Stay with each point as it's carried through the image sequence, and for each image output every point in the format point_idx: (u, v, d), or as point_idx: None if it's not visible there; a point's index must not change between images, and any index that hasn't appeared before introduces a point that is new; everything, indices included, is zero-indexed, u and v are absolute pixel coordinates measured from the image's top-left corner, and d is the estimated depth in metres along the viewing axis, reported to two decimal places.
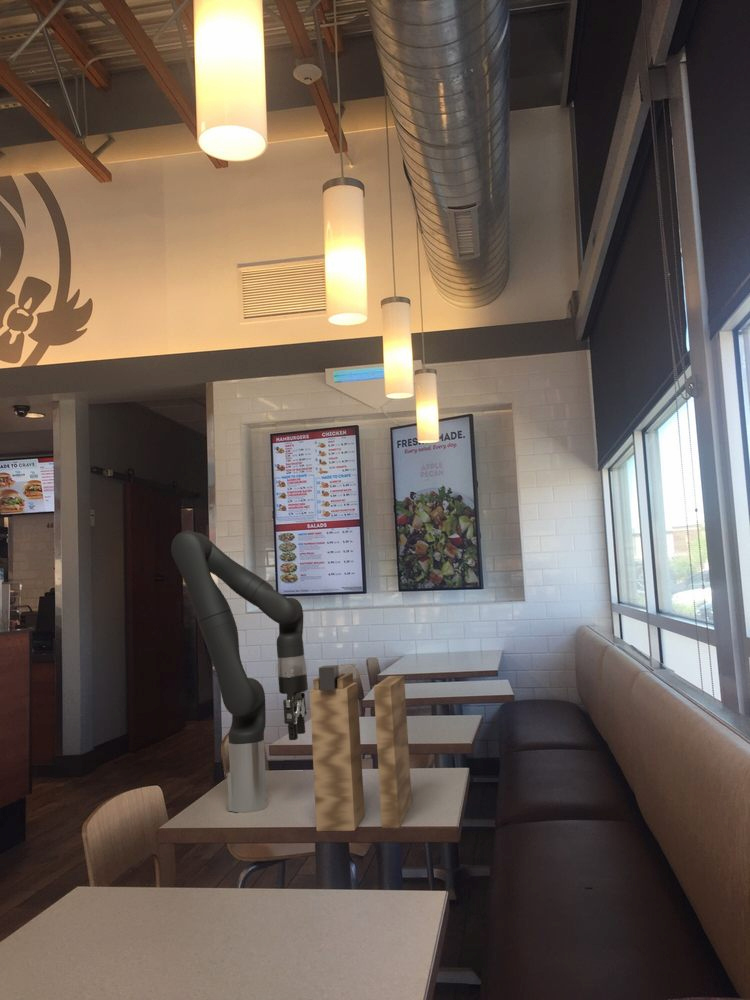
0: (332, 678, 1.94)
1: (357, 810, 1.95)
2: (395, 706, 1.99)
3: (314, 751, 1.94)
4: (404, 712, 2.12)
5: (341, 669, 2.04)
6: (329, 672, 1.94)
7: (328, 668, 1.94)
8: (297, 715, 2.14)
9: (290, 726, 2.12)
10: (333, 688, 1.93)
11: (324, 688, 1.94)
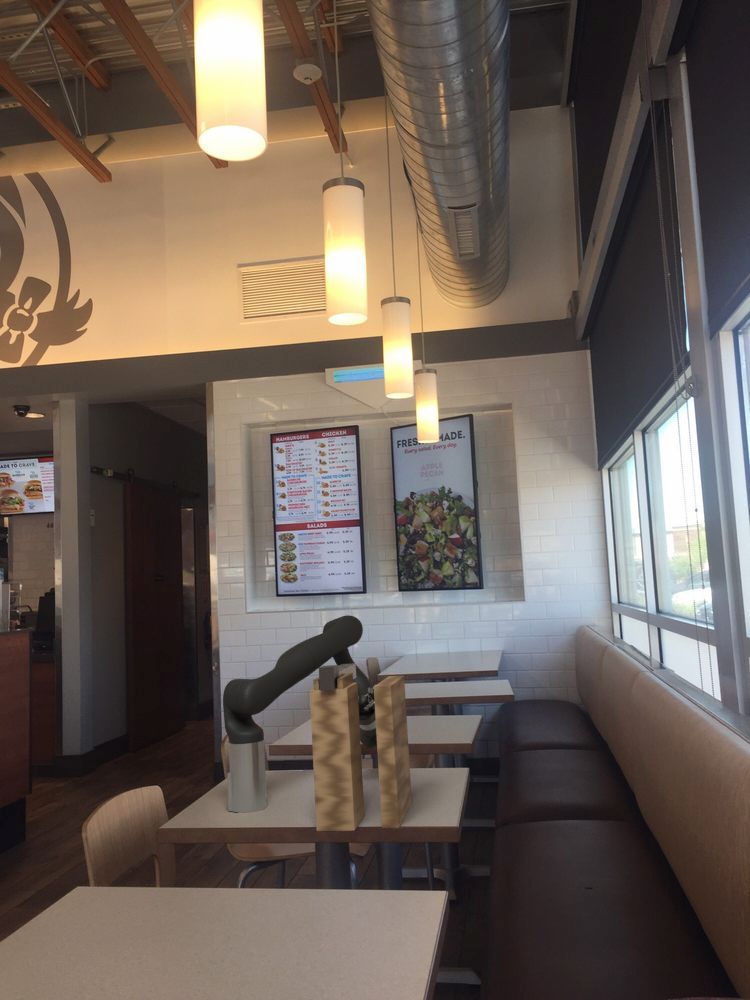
0: (332, 678, 1.94)
1: (357, 810, 1.95)
2: (395, 706, 1.99)
3: (314, 751, 1.94)
4: (404, 712, 2.12)
5: (341, 669, 2.04)
6: (329, 672, 1.94)
7: (328, 668, 1.94)
8: (371, 703, 2.25)
9: None
10: (333, 688, 1.93)
11: (324, 688, 1.94)
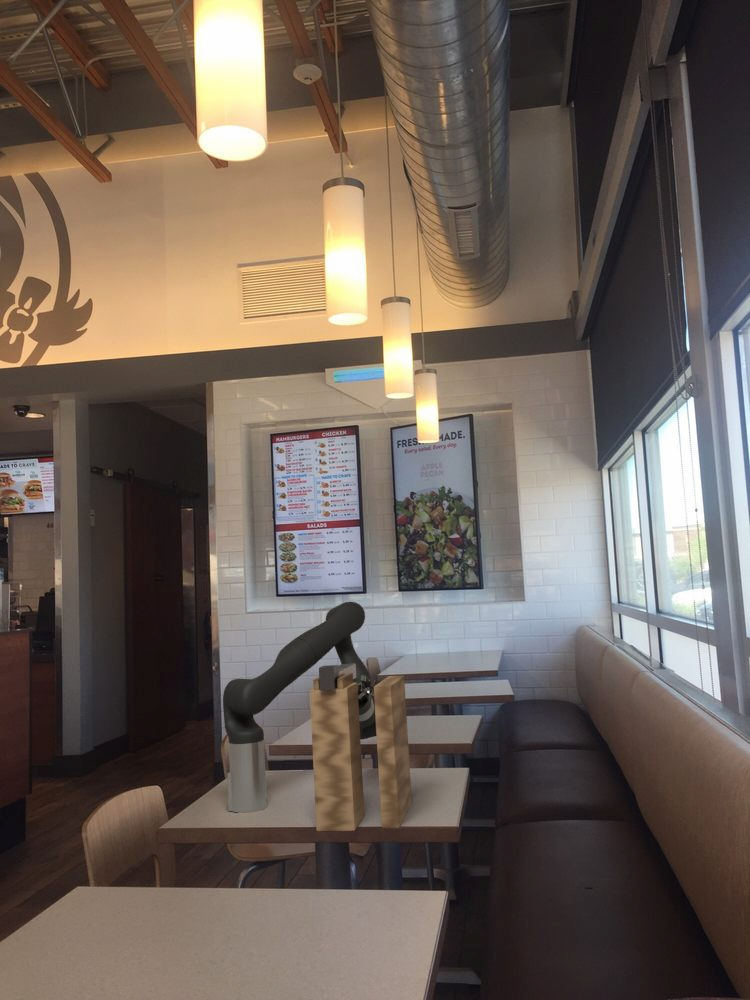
0: (332, 678, 1.94)
1: (357, 810, 1.95)
2: (395, 706, 1.99)
3: (314, 751, 1.94)
4: (404, 712, 2.12)
5: (341, 669, 2.04)
6: (329, 672, 1.94)
7: (328, 668, 1.94)
8: (364, 692, 2.18)
9: (369, 682, 2.16)
10: (333, 688, 1.93)
11: (324, 688, 1.94)
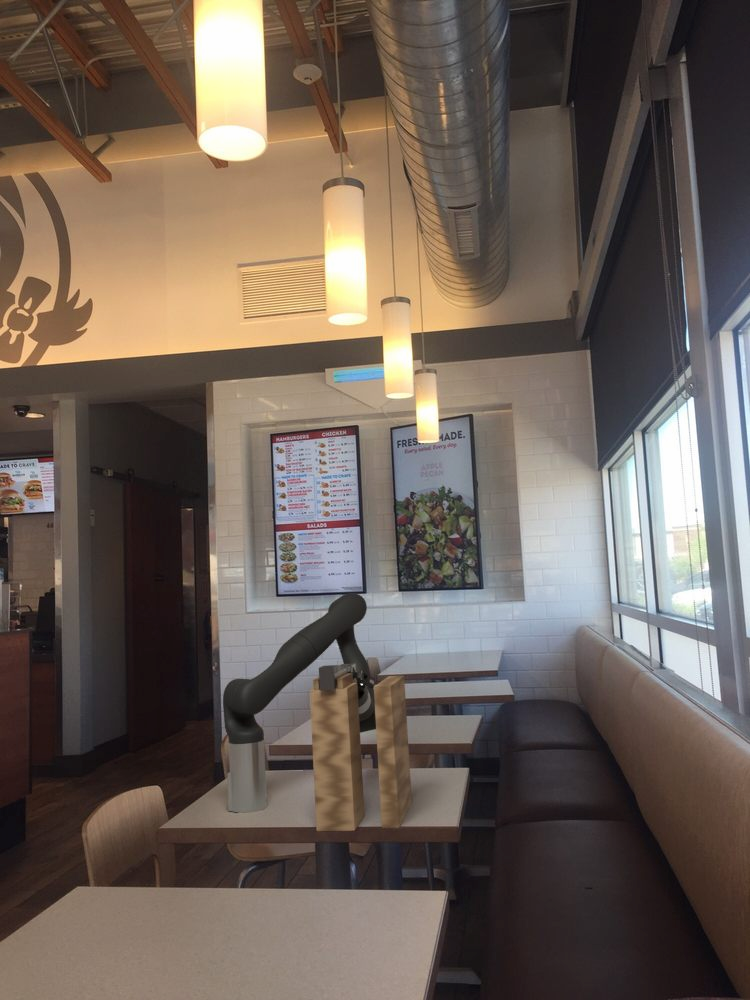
0: (332, 678, 1.94)
1: (357, 810, 1.95)
2: (395, 706, 1.99)
3: (314, 751, 1.94)
4: (404, 712, 2.12)
5: (341, 669, 2.04)
6: (329, 672, 1.94)
7: (328, 668, 1.94)
8: None
9: (355, 673, 2.12)
10: (333, 688, 1.93)
11: (324, 688, 1.94)
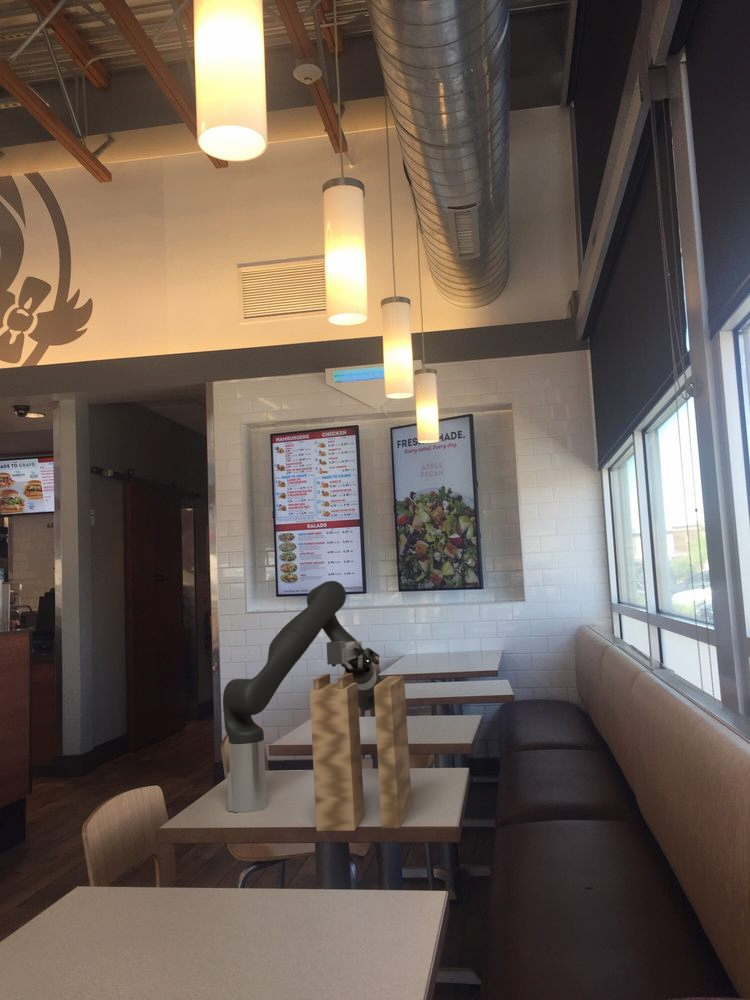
0: (339, 653, 2.03)
1: (357, 810, 1.95)
2: (395, 706, 1.99)
3: (314, 751, 1.94)
4: (404, 712, 2.12)
5: (348, 645, 2.14)
6: (336, 647, 2.04)
7: (335, 643, 2.04)
8: (360, 660, 2.23)
9: (362, 649, 2.21)
10: (340, 662, 2.03)
11: (332, 662, 2.04)
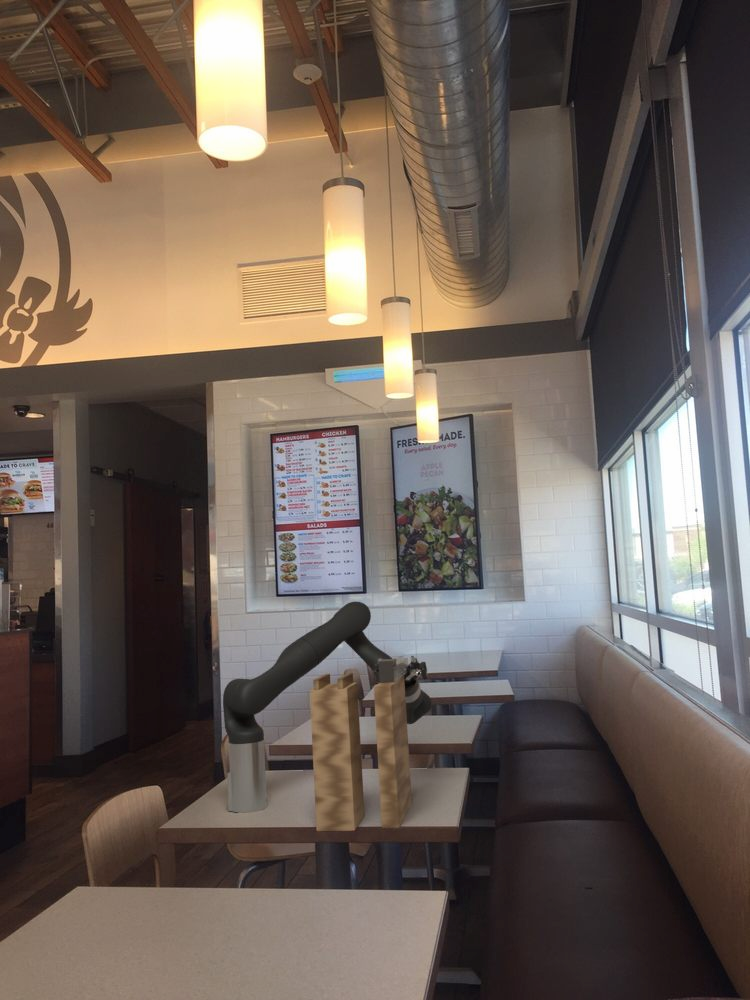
0: (391, 671, 2.01)
1: (357, 810, 1.95)
2: (395, 706, 1.99)
3: (314, 751, 1.94)
4: (404, 712, 2.12)
5: (397, 663, 2.12)
6: (388, 665, 2.02)
7: (387, 662, 2.02)
8: (413, 673, 2.21)
9: (417, 663, 2.20)
10: (392, 681, 2.01)
11: (384, 681, 2.02)
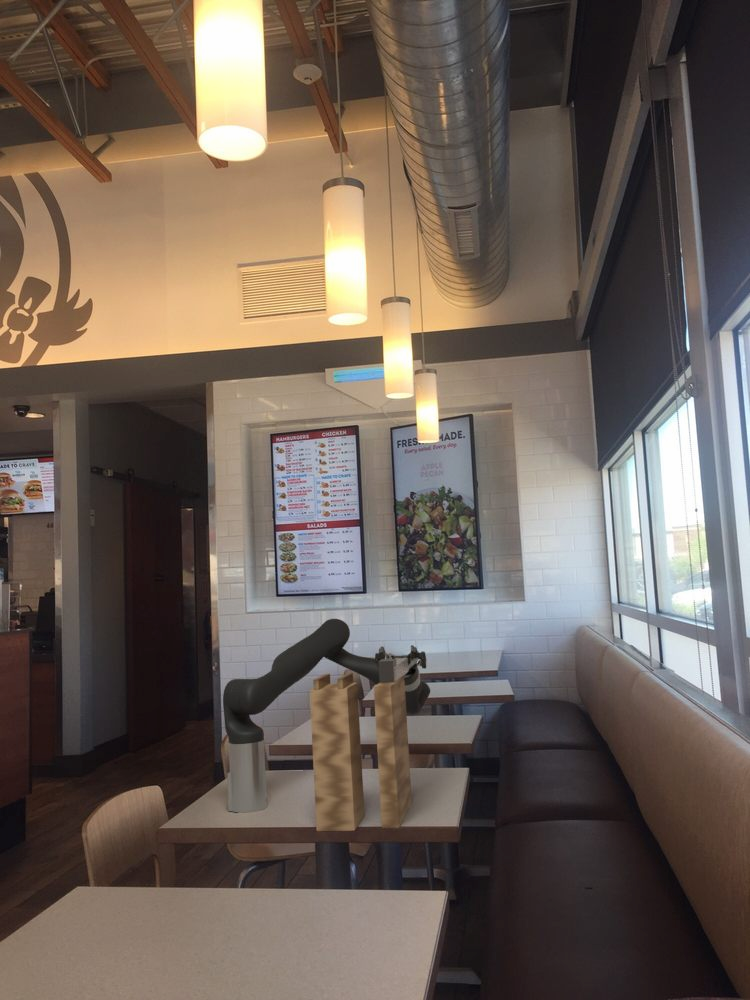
0: (391, 671, 2.01)
1: (357, 810, 1.95)
2: (395, 706, 1.99)
3: (314, 751, 1.94)
4: (404, 712, 2.12)
5: (397, 663, 2.12)
6: (388, 665, 2.02)
7: (387, 662, 2.02)
8: (413, 662, 2.33)
9: (417, 653, 2.31)
10: (392, 681, 2.01)
11: (384, 681, 2.02)
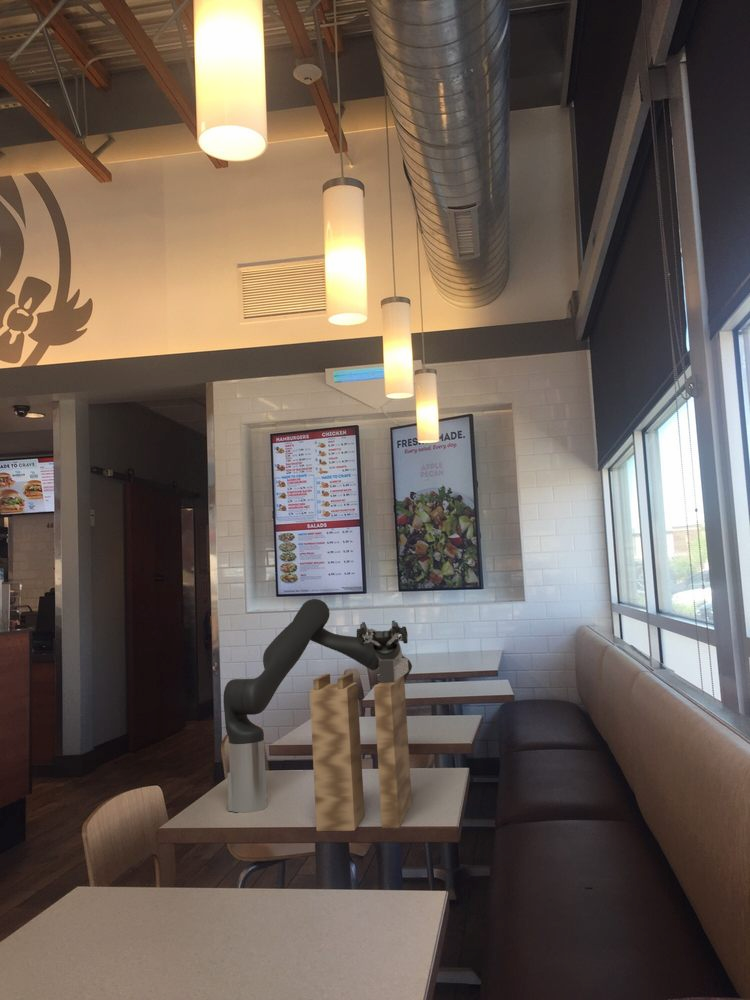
0: (391, 671, 2.01)
1: (357, 810, 1.95)
2: (395, 706, 1.99)
3: (314, 751, 1.94)
4: (404, 712, 2.12)
5: (397, 663, 2.12)
6: (388, 665, 2.02)
7: (387, 662, 2.02)
8: (394, 637, 2.35)
9: (398, 628, 2.34)
10: (392, 681, 2.01)
11: (384, 681, 2.02)
